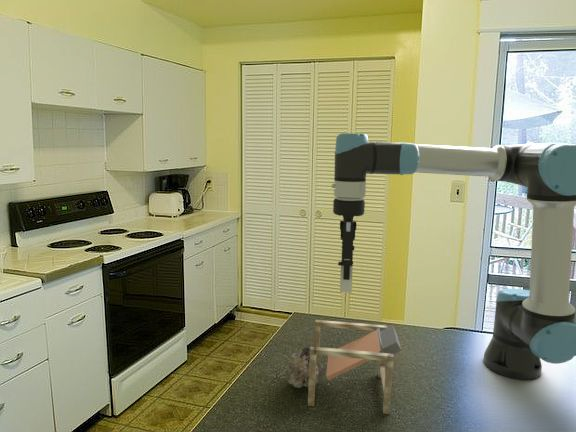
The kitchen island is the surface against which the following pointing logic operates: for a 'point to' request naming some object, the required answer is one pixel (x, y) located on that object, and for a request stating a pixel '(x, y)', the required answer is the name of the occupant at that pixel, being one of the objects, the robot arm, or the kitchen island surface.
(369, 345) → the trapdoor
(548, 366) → the kitchen island surface
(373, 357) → the frame
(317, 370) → the rock
